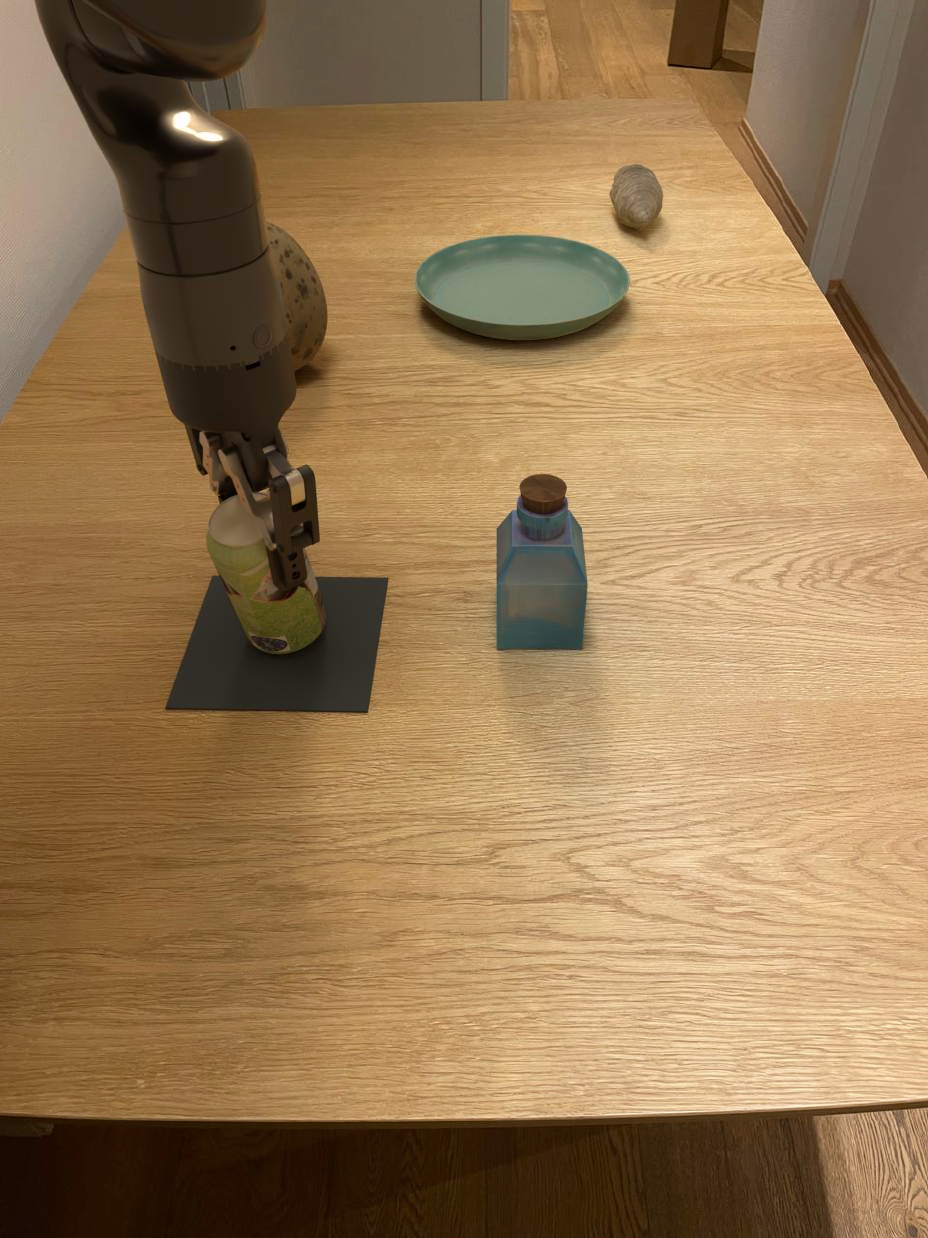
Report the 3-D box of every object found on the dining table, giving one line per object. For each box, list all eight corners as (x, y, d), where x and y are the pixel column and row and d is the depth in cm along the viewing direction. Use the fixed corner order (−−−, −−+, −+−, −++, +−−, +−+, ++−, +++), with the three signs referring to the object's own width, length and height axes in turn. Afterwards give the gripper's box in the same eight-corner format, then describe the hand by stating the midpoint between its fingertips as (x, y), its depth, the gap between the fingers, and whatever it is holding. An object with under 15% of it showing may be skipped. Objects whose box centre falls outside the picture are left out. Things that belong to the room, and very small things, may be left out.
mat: (367, 712, 66) (367, 711, 66) (165, 709, 67) (165, 707, 67) (388, 578, 76) (388, 577, 76) (212, 577, 77) (212, 575, 77)
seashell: (616, 222, 121) (631, 152, 118) (598, 225, 134) (611, 162, 131) (666, 231, 122) (682, 162, 119) (643, 233, 134) (657, 171, 132)
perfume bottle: (577, 592, 75) (586, 460, 67) (582, 649, 70) (593, 515, 62) (496, 592, 75) (496, 461, 67) (496, 648, 70) (496, 515, 62)
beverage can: (344, 618, 73) (324, 486, 65) (291, 683, 68) (263, 549, 60) (273, 596, 75) (246, 465, 67) (217, 658, 70) (180, 525, 62)
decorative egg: (303, 334, 107) (283, 194, 97) (353, 373, 101) (336, 227, 90) (213, 363, 103) (182, 220, 92) (259, 406, 96) (230, 256, 86)
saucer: (608, 364, 101) (610, 334, 98) (387, 339, 106) (384, 310, 104) (641, 269, 117) (644, 241, 115) (450, 251, 123) (449, 224, 120)
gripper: (107, 304, 58) (171, 530, 69) (216, 401, 49) (269, 640, 60) (222, 270, 61) (265, 491, 72) (343, 355, 52) (371, 591, 64)
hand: (267, 558), depth 66 cm, fingers closed on beverage can, 6 cm apart
